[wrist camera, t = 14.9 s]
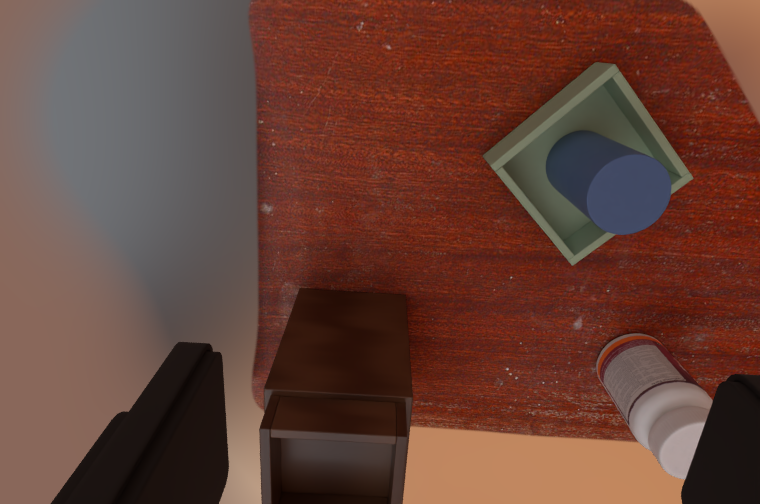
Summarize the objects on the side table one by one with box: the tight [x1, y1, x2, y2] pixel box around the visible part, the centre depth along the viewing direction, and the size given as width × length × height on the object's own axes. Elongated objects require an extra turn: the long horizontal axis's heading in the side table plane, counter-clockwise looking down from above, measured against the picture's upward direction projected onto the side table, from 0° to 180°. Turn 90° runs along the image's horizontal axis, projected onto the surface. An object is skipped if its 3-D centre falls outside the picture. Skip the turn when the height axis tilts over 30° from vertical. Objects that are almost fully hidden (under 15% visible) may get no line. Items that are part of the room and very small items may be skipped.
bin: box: [483, 62, 693, 266], centre depth 39 cm, size 10×10×4 cm
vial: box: [546, 130, 671, 235], centre depth 36 cm, size 5×5×9 cm
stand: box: [259, 289, 413, 504], centre depth 39 cm, size 9×9×17 cm
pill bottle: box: [596, 333, 713, 479], centre depth 42 cm, size 6×6×11 cm
